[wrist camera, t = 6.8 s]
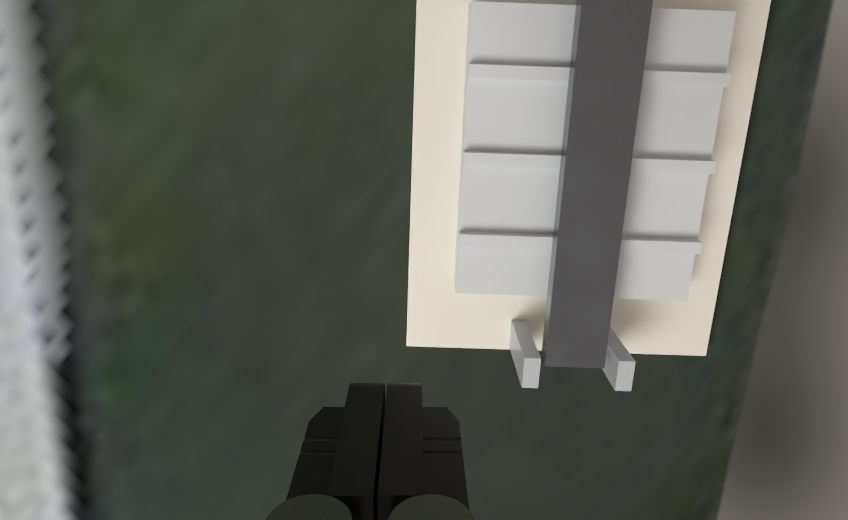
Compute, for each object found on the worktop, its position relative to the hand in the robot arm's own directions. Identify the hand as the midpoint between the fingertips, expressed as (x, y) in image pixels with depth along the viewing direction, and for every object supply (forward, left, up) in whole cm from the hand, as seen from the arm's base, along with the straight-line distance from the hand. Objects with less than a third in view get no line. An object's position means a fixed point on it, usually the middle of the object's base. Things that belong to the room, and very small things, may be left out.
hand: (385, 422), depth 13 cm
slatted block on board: (-3, +9, -22) cm, 24 cm away
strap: (-3, +9, -18) cm, 20 cm away
